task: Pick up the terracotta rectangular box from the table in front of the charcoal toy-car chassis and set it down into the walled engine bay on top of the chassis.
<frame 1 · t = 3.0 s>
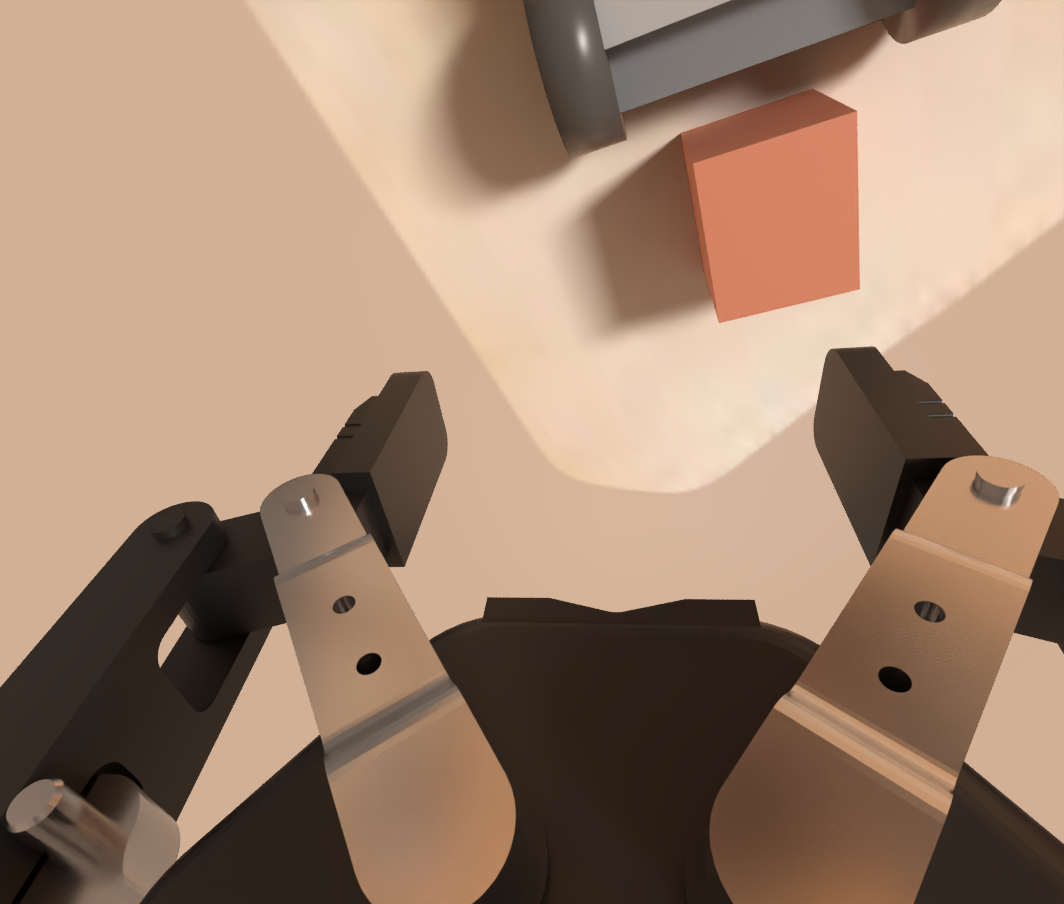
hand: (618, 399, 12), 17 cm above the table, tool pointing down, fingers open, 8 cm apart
terracotta rectangular box: (752, 188, 25), on the table
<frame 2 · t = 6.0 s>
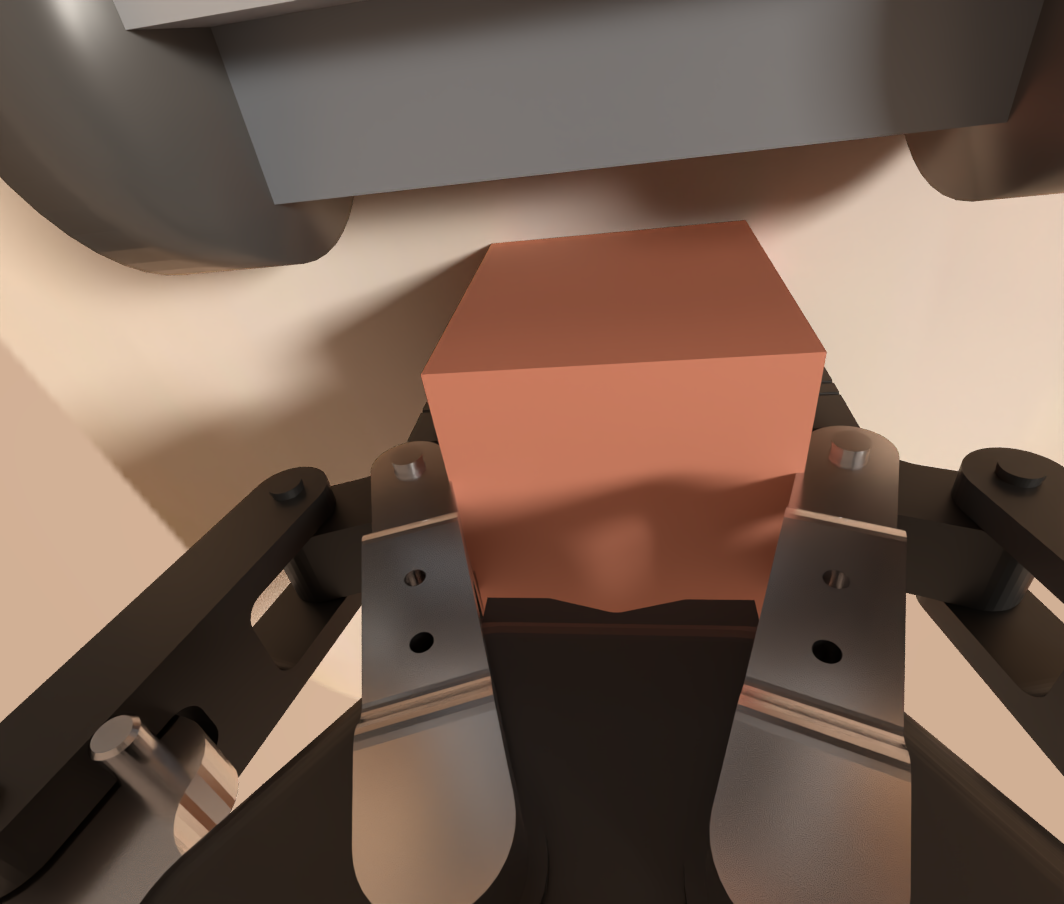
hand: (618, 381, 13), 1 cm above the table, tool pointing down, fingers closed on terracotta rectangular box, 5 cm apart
terracotta rectangular box: (619, 366, 13), on the table, touching gripper
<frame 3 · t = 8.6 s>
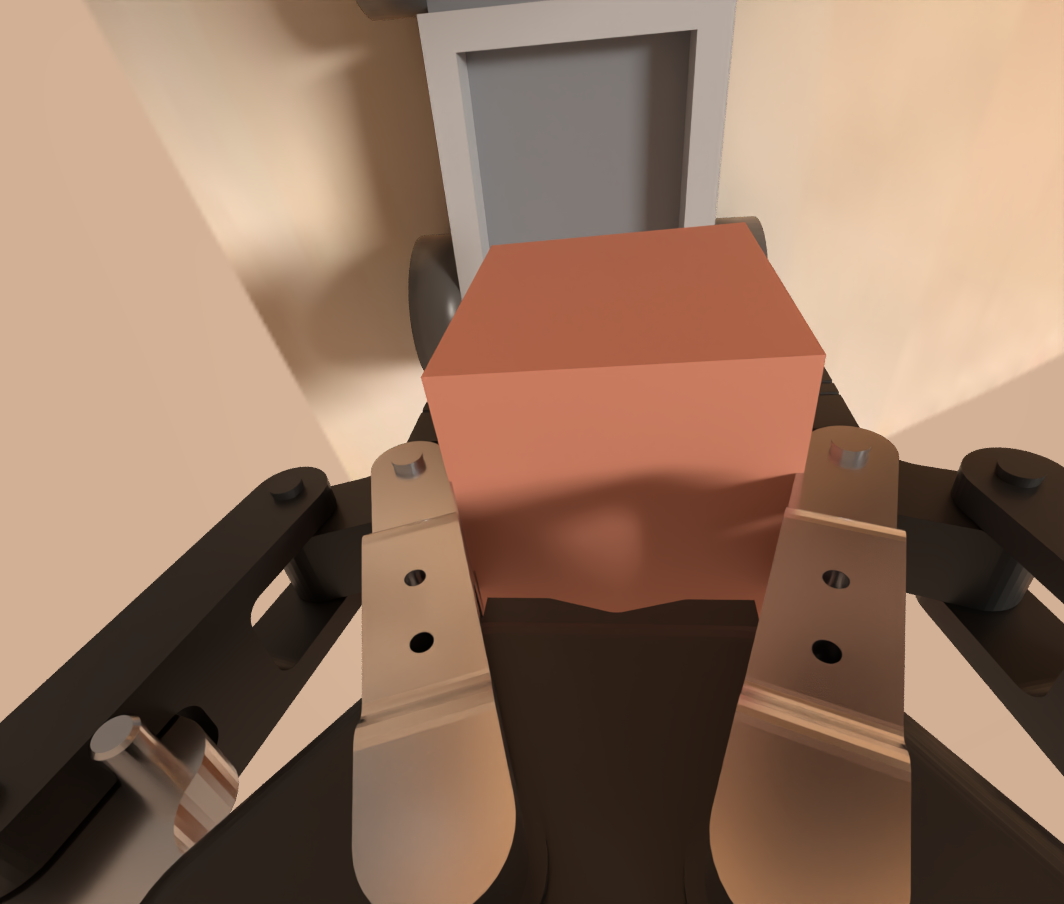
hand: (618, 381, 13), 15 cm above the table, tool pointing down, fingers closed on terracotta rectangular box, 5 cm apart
chassis: (580, 99, 23), on the table
terracotta rectangular box: (619, 367, 13), point 14 cm above the table, touching gripper
when the fingers open (6 cm above the table, at t = 11.5 s): terracotta rectangular box stays where it is, resting on chassis.
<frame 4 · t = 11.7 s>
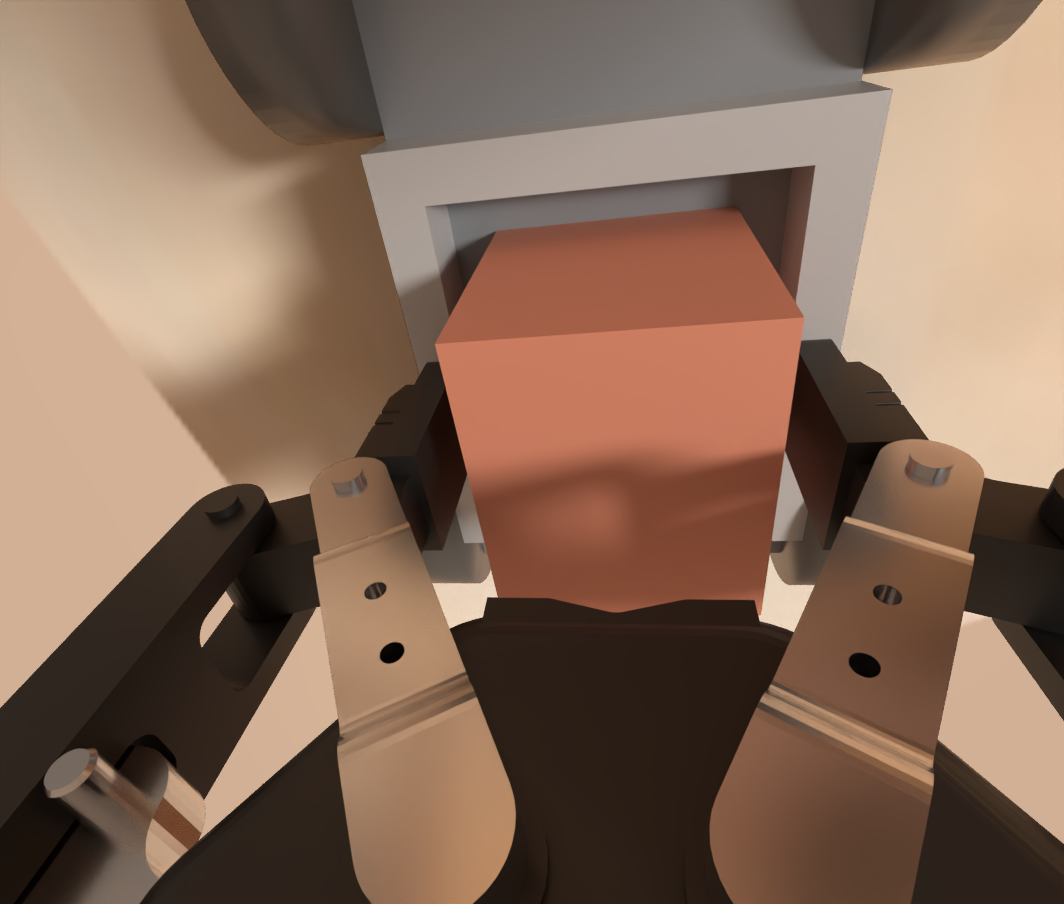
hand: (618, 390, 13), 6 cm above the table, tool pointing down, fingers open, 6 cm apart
chassis: (614, 217, 16), on the table
terracotta rectangular box: (618, 347, 14), point 4 cm above the table, touching chassis
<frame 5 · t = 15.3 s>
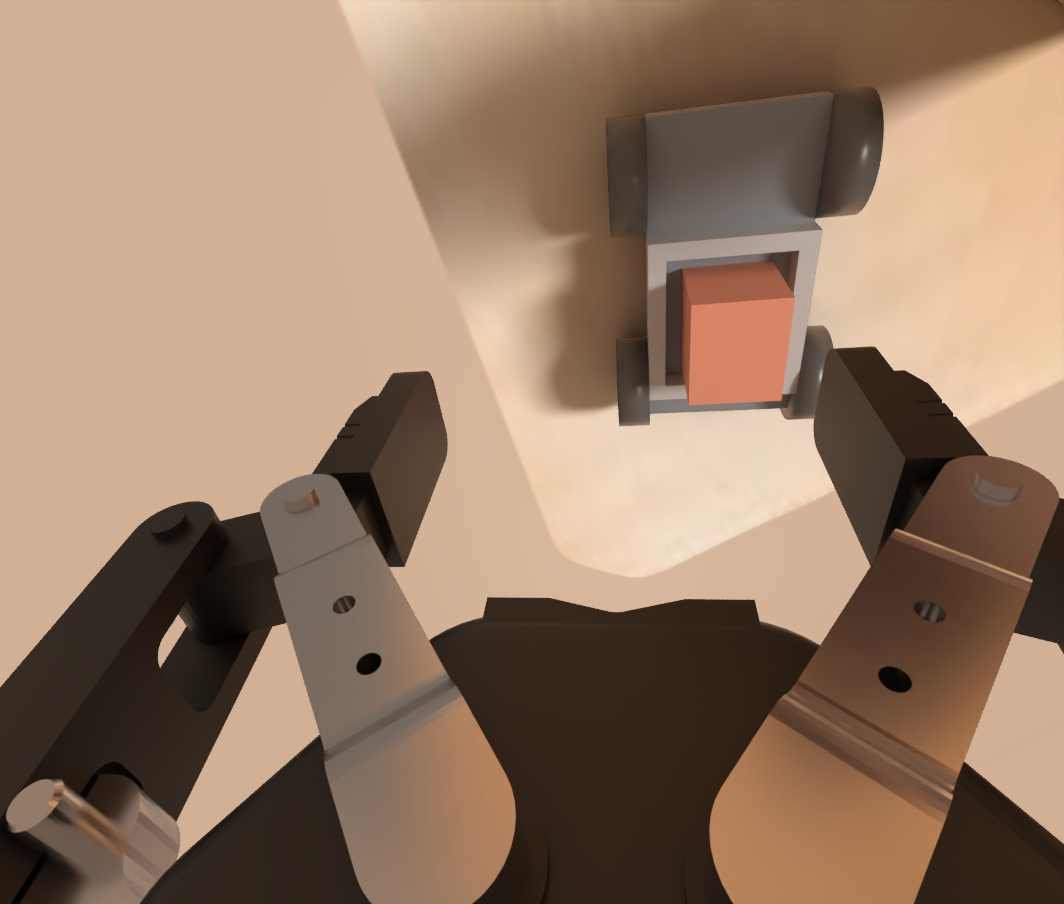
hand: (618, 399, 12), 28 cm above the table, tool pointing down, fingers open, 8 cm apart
chassis: (716, 258, 38), on the table
terracotta rectangular box: (723, 313, 36), point 4 cm above the table, touching chassis
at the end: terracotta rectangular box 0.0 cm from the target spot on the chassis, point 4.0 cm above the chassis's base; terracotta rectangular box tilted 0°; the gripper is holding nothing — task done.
